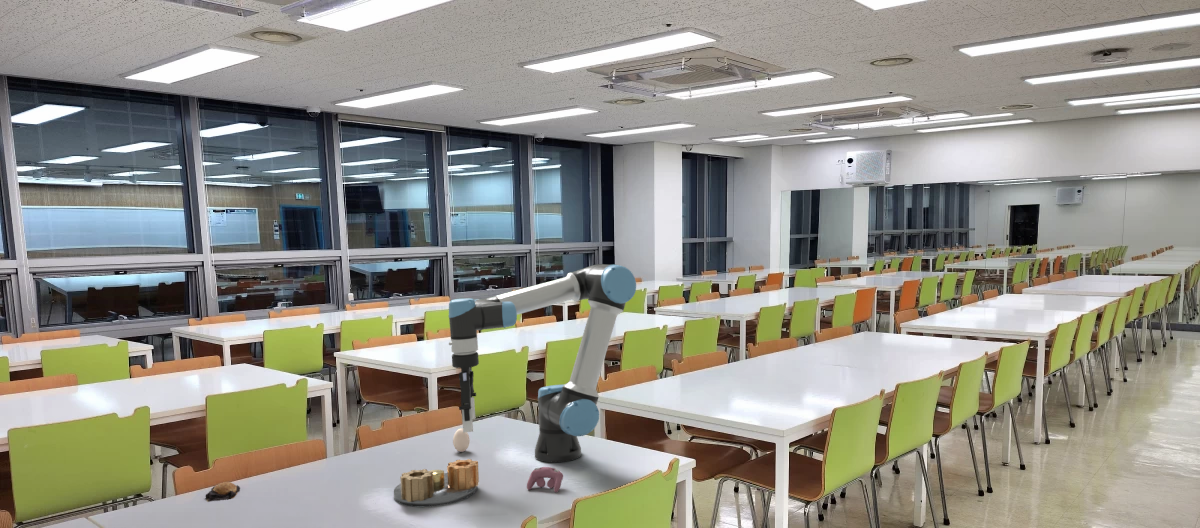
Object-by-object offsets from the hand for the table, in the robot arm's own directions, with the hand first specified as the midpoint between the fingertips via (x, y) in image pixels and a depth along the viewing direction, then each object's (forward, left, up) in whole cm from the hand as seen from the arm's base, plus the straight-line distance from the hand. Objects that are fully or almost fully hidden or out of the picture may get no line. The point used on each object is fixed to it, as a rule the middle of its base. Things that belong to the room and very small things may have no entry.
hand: (469, 425), depth 210 cm
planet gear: (+2, +3, -16) cm, 17 cm away
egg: (+6, -35, -18) cm, 40 cm away
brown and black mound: (+72, -7, -19) cm, 74 cm away
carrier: (+10, +3, -18) cm, 21 cm away
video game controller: (-21, +6, -18) cm, 28 cm away
